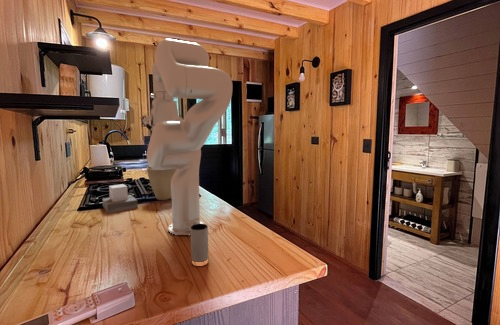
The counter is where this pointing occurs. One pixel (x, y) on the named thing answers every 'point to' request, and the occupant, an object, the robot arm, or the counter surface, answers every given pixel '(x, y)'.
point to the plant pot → (161, 182)
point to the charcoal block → (119, 204)
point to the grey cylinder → (199, 242)
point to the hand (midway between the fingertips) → (165, 140)
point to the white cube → (118, 192)
